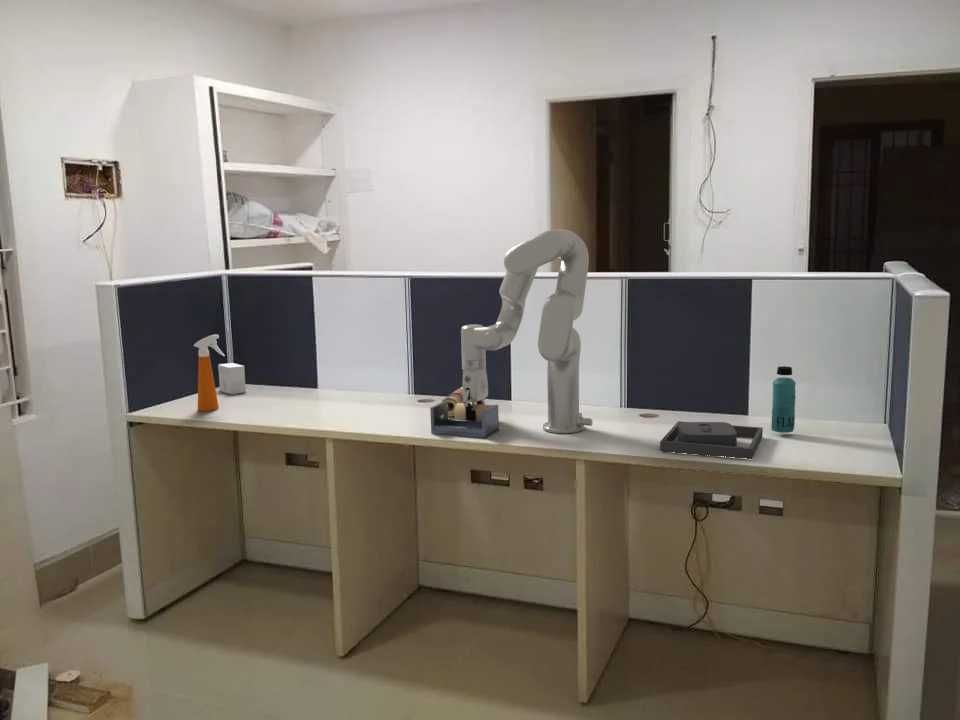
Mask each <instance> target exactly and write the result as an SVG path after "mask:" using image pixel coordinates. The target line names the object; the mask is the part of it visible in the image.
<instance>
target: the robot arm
mask: <svg viewBox="0 0 960 720" xmlns="http://www.w3.org/2000/svg"><path fill="white" fill-rule="evenodd" d="M503 258H504V259H503V265H504V268H505V270H506V273H505V275H504V278H503V280H502V282H501V285H500V287H499V291H498V292H499V295H500V297H501V301H502V303H501V309H500V313H499V315H498V318H497V320H496V322H495V323H494V324H492V325H489V326H484V325H482V324H475V323H474V324H466V325H463V326H461V329H460V337H461V338H460V340H461V343H460V344H461V369H462V386H461V387H462V391H463V404H464V406H465V410H466V420H469V421H476V410H474V408H475V404H484V405H486V401H485V400H486V398H487V397H488V396H489V384H488V381H489V380H488V374H487V357H486V354H487V353H486V352H487V351H497V350H500V349H502V348H504V347H507V346H509V345H510V344H512V342H513V341H514V339H515V337H516V335H517V333H518V332H519V328H520V326H521V323H522V321H523V317H524V312H525V307H526V299H527V297H528V294H529V292H530V291H531V290H530V289H531V286H533V281H534V279H535V277H536V274H537V272H538V270H539V268H540V267H542V266H544V265H546V264H549V263H550V262H553V261H555V260H559V261H560V267H559V270H558V274H557V281H556V288H555V292H554V293H552V294H551V295H550V296H548V297H547V299H546V300H545V302H544V304H543V306H542V312H541V316H540V325H539V332H538V339H537V340H538V341H537V348H538V352H539V354H540V355H541V357H542V358H543V359H544V360H546V361H547V368H546V369H547V373H546V375H547V383H546V384H547V422H544V423H543V425H542V429H543V431H546V432H549V433H553V434H575V433H579V432H583V430H584V429H585V426H586V427H589V426H590V427H592V426H593V419H591V418H590V417H589V418H588V417H583V413H582V412H580V358H581V357H580V356H581V348H582V346H581V345H582V343H581V342H582V341H581V337H580V334H579V332H578V331H577V330H576V328H574V327H573V324H574V321H575V320H577V319H579V318H580V317H581V315H582V312H583V310H584V301H585V293H586V287H587V279H588V273H589V271H588V270H589V262H590V259H589V258H590V257H589V251H588V247H587V245H586V243H585V242H584V240H583V239H582V238H581V237H580V236H579V235H578V234H577V233H576V232H574V231H571V230H569V229H565V228H564V229H563V228H558V229H551V230H547V231H544V232H541V233H539V234H537V235H535V236H533V237H531V238H529V239H527V240H526V241H523V242H521V243H519V244H516V245H514V246H513V247H511V248H510V249H509V250H508V251H506V254H505V255H504V257H503ZM469 399H472V400H469ZM471 404H472V405H471Z"/></svg>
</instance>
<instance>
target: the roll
mask: <svg viewBox="0 0 960 720" xmlns="http://www.w3.org/2000/svg"><path fill="white" fill-rule="evenodd" d="M470 404H471V405H472V403H470ZM492 406H493V404H485V405H484V404H476V403H475V408H474V410H476V421H481V422H482V411H484V410H486V409H488V408H490V407H492ZM453 416H454V419H457V420H466V410H465V406H464V404H463V403H457V404H456V406H455V410H454V415H453Z"/></svg>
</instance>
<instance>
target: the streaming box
mask: <svg viewBox="0 0 960 720" xmlns="http://www.w3.org/2000/svg"><path fill="white" fill-rule="evenodd" d="M681 422H682V423H679V435H678V442H685V443H697V444H709V445H721V446H733V447H738V445H737V444H738V439H737V438H738V437H737V432H736V431H735V429H734V428H733V426H732V424H731V423H729V422H724V421H681Z"/></svg>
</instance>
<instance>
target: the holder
mask: <svg viewBox="0 0 960 720" xmlns="http://www.w3.org/2000/svg"><path fill="white" fill-rule="evenodd" d="M441 402H442V401H441ZM441 402H439V403H438V404H435V405H433V406H431V407H429V409H430V430H431V431H430V433H431V434H434V435H443V436H444V435H445V436H452V437H453V436H454V437H467V438H475V439H476V438H478V439H487V438H489V437H490V436H492V435H493V434H495V433H497V432H498V431H500V420H499V419H500V418H499V404H494V405H493V404H492V405H493V406H492V407H490V408H488V409H486V410H484V411H482V422H481V421H469V420H457V419H455V418H450V416H448V401H444V402H442V403H441Z"/></svg>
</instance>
